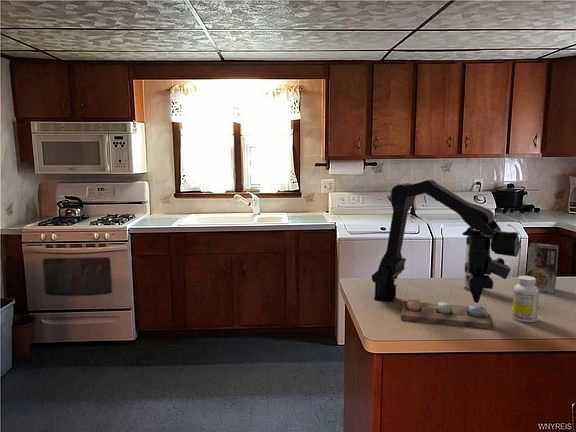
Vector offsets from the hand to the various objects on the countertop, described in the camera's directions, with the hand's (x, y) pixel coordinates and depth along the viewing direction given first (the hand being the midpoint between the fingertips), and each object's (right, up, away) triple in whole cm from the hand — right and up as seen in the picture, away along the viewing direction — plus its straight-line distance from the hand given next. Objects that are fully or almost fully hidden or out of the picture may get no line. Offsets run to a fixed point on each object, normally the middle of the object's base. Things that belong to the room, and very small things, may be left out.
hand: (476, 302), depth 138 cm
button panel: (-9, -5, +3) cm, 10 cm away
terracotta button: (-17, -3, +6) cm, 18 cm away
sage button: (-9, -4, +3) cm, 10 cm away
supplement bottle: (+15, -5, +1) cm, 16 cm away
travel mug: (+11, -1, +29) cm, 31 cm away
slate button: (0, -4, +1) cm, 4 cm away
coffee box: (+34, -1, +28) cm, 44 cm away
